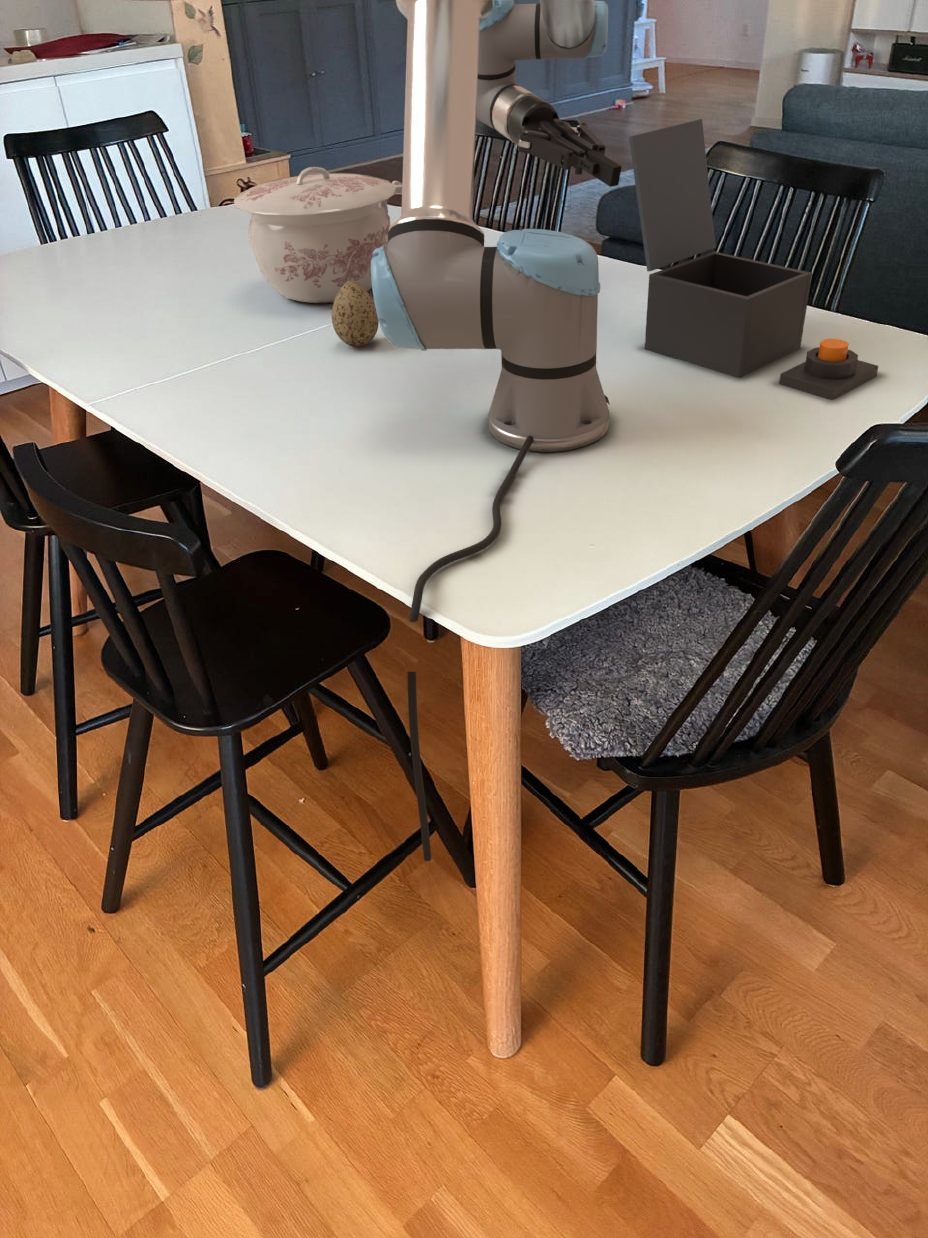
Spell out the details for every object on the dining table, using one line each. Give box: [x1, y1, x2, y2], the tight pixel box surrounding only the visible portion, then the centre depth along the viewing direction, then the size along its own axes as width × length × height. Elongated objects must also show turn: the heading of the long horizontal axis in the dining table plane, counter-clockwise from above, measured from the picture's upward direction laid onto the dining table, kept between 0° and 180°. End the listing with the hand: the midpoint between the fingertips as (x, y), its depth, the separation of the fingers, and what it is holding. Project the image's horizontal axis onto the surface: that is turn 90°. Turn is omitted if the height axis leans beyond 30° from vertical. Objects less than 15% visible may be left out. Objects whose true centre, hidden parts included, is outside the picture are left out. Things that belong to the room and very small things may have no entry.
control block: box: [778, 346, 879, 401], centre depth 131 cm, size 8×11×4 cm
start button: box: [818, 338, 850, 361], centre depth 130 cm, size 4×4×2 cm
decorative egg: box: [331, 281, 380, 348], centre depth 149 cm, size 7×7×10 cm
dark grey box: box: [644, 251, 813, 379], centre depth 140 cm, size 17×15×11 cm
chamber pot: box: [233, 166, 402, 304], centre depth 168 cm, size 28×28×21 cm
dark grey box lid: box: [628, 118, 717, 272], centre depth 138 cm, size 18×15×1 cm
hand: (615, 176), depth 141 cm, fingers closed
